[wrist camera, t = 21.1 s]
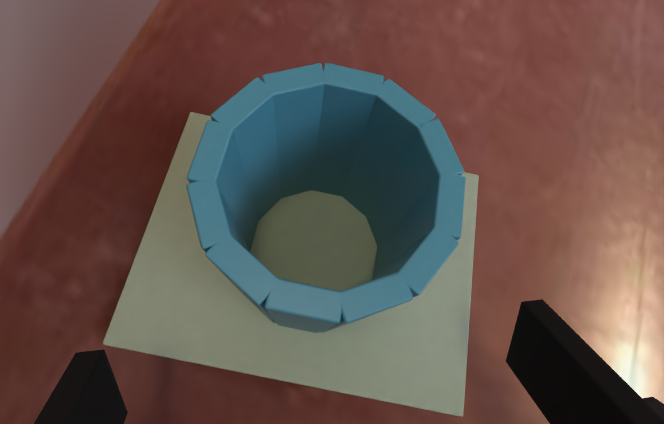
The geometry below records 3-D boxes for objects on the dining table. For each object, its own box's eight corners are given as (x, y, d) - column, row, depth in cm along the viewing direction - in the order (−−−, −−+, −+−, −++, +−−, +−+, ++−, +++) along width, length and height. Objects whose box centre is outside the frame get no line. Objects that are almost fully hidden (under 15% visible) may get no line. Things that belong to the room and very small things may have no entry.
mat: (107, 344, 17) (101, 344, 16) (193, 117, 21) (190, 111, 20) (458, 415, 17) (463, 417, 17) (474, 179, 21) (479, 174, 21)
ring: (214, 312, 17) (146, 284, 9) (258, 164, 20) (234, 40, 12) (379, 346, 17) (453, 348, 9) (400, 195, 20) (473, 95, 12)
